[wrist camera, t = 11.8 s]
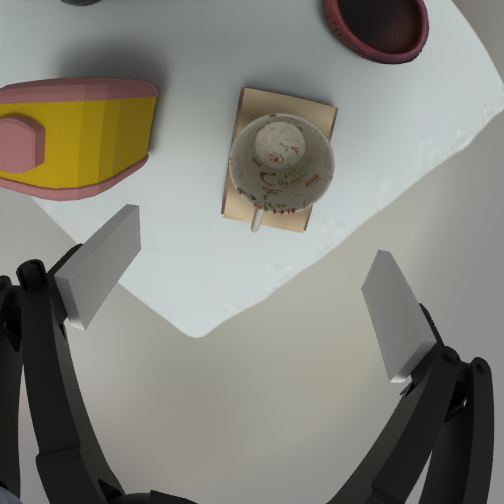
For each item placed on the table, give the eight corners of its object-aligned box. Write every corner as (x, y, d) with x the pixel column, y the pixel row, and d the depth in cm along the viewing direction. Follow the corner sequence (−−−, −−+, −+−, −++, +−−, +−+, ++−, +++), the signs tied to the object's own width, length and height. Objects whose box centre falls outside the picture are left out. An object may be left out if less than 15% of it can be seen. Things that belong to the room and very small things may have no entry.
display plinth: (244, 88, 30) (240, 86, 26) (333, 107, 30) (340, 108, 27) (224, 205, 38) (219, 217, 35) (303, 220, 38) (306, 234, 35)
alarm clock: (61, 144, 34) (-32, 188, 18) (68, 77, 29) (-34, 93, 12) (160, 161, 36) (74, 223, 19) (175, 83, 30) (82, 81, 13)
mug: (327, 122, 28) (349, 134, 19) (292, 220, 34) (297, 266, 26) (253, 100, 27) (243, 100, 19) (226, 201, 34) (208, 242, 25)
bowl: (426, 26, 22) (457, 16, 15) (381, 85, 28) (407, 83, 21) (327, -45, 18) (337, -72, 11) (274, 11, 24) (273, -11, 17)
